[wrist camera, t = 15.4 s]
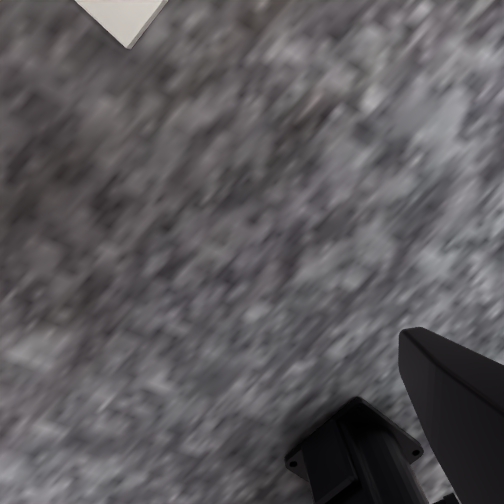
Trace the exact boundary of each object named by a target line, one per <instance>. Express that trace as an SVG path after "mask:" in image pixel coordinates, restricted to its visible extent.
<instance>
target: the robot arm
mask: <svg viewBox="0 0 504 504" xmlns="http://www.w3.org/2000/svg"><path fill="white" fill-rule="evenodd" d="M398 366H399V372H400V375H401V378H402V380H403V383H404V385H405V387H406V390H407V392H408V395H409V397H410V399H411V402H412V404H413V407H414V409H415V411H416V414H417V416H418V418H419V421H420V423H421V426H422V428H423V430H424V433H425V435H426V437H427V440H428V442H429V444H430V446H431V448H432V450H433V452H434V454H435V456H436V458H437V460H438V462H439V463H440V465H441V467H442V469H443V471H444V473H445V474H446V476H447V478H448V480H449V482H450V483H451V485H452V487H453V489H454V491H455V492H456V494H457V496H458V498H459V500H460V501H461V503H462V504H504V365H502V364H500V363H498V362H495V361H493V360H491V359H489V358H487V357H485V356H483V355H481V354H478V353H476V352H474V351H472V350H470V349H468V348H466V347H464V346H461V345H459V344H457V343H455V342H453V341H451V340H449V339H447V338H444V337H442V336H440V335H438V334H436V333H434V332H432V331H430V330H427V329H425V328H423V327H415V328H408V329H403V330H402V331H401V332H400V334H399V355H398ZM360 406H361V407H360ZM357 407H360V408H357ZM423 453H424V450H423V448H422V446H421V445H420V443H419V442H417V441H416V440H415V439H413V438H412V437H411V436H410V435H408V434H407V433H406V432H404V431H403V430H402V429H401V428H399V427H398V426H397V425H395V424H394V423H393V422H391V421H390V420H389V419H388V418H386V417H385V416H384V415H382V414H381V413H380V412H379V411H377V410H376V409H375V408H373V407H372V406H371V405H370V404H368V403H367V402H366V401H364V400H363V399H359V398H358V399H354V400H353V401H351V402H350V403H349V404H348V405H346V406H345V407H344V408H343V409H342V410H340V411H339V412H338V413H337V414H336V415H334V416H333V417H332V418H331V419H330V420H328V421H327V422H326V423H325V424H324V425H322V426H321V427H320V428H319V429H318V430H316V431H315V432H314V433H313V434H312V435H310V436H309V437H308V438H307V439H306V440H304V441H303V442H302V443H301V444H300V445H298V446H297V447H296V448H295V449H294V450H292V451H291V452H290V453H289V454H288V455H286V457H285V459H284V460H285V465H286V468H287V469H289V470H290V471H292V472H293V473H295V474H297V475H298V476H300V477H301V478H303V479H304V480H306V481H307V482H309V485H310V489H311V493H312V498H313V502H314V504H429V502H428V500H427V498H426V496H425V494H424V492H423V490H422V488H421V486H420V484H419V482H418V480H417V478H416V476H415V474H414V472H413V470H412V468H411V466H410V464H411V463H413V462H414V461H415V460H417V459H418V458H419V457H421V456H422V455H423ZM292 461H294V462H292ZM443 498H444V499H443V500H440V501H438V502H436V503H433V504H459V502H458V500H457V499H456V497H455V495H454V494H453V493H451V494H449V495H446V496H444V497H443Z"/></svg>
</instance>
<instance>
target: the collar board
mask: <svg viewBox="0 0 504 504" xmlns="http://www.w3.org/2000/svg"><path fill="white" fill-rule="evenodd" d="M75 1H76V2H77V3H78V4H79V5H80V6H81V7H82V8H84V9H85V10H86V11H87V12H88V13H89V14H90V15H91V16H92V17H93V18H94V19H95V20H96V21H98V22H99V23H100V24H101V25H102V26H103V27H104V28H105V29H106V30H107V31H108V32H109V33H110V34H112V35H113V36H114V37H115V38H116V39H117V40H118V41H119V42H120V43H121V44H122V45H123V46H124V47H126V48H128V49H131V48H132V47H133V46H134V44H135V43H136V42H137V41H138V39H139V38H140V37H141V35H142V34H143V33H144V31H145V30H146V29H147V28H148V26H149V25H150V24H151V22H152V21H153V20H154V19H155V17H156V16H157V15H158V13H159V12H160V11H161V9H162V8H163V7H164V6H165V4H166V3H167V2H168V0H75Z"/></svg>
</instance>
